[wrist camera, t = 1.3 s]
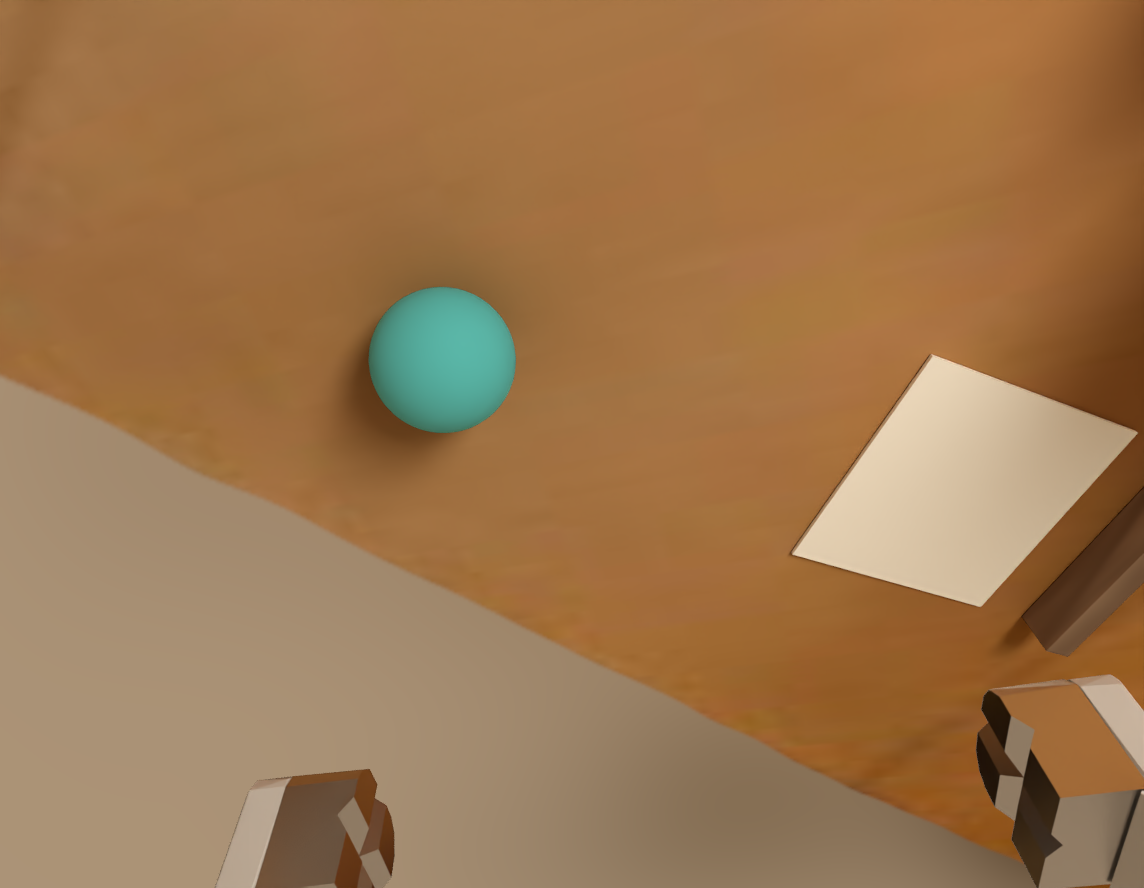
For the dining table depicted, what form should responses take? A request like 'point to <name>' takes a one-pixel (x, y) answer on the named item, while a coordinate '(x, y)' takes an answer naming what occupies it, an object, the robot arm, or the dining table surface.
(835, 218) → the dining table surface
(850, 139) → the dining table surface
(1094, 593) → the strip
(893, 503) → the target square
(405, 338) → the ball
